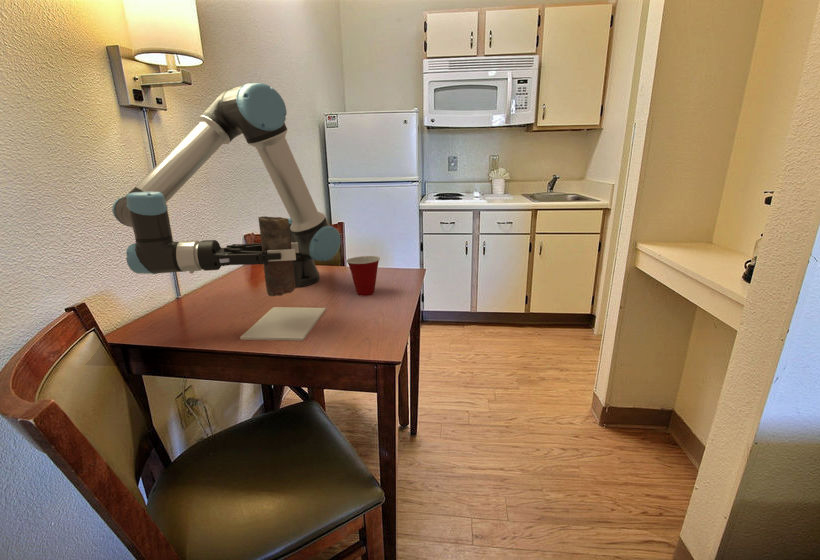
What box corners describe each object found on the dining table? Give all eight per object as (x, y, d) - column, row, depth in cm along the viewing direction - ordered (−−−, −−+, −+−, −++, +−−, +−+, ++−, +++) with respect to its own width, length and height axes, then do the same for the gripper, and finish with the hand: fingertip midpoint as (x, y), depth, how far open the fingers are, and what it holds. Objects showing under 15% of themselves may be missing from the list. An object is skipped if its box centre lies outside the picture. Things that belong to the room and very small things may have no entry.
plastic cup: (371, 285, 135) (370, 252, 131) (387, 294, 126) (386, 258, 122) (343, 291, 129) (340, 257, 125) (357, 301, 120) (355, 264, 117)
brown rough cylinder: (267, 289, 104) (259, 215, 98) (295, 286, 107) (289, 214, 100) (266, 298, 97) (257, 219, 91) (296, 295, 100) (289, 218, 94)
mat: (273, 309, 115) (273, 307, 115) (325, 309, 114) (325, 307, 114) (240, 339, 96) (240, 337, 96) (303, 340, 95) (302, 338, 95)
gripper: (215, 260, 106) (301, 255, 110) (189, 282, 87) (294, 275, 91) (210, 233, 104) (298, 229, 108) (183, 249, 85) (291, 244, 89)
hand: (296, 250), depth 100 cm, fingers closed on brown rough cylinder, 7 cm apart
